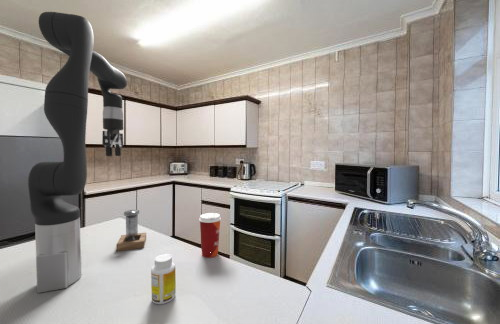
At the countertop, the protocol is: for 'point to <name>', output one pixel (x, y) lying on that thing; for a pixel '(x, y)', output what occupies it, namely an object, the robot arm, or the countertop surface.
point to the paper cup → (210, 234)
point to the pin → (131, 224)
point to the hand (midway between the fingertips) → (113, 156)
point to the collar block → (131, 242)
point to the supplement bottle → (163, 279)
